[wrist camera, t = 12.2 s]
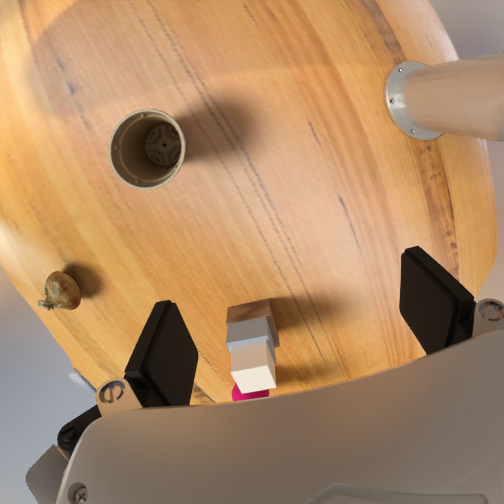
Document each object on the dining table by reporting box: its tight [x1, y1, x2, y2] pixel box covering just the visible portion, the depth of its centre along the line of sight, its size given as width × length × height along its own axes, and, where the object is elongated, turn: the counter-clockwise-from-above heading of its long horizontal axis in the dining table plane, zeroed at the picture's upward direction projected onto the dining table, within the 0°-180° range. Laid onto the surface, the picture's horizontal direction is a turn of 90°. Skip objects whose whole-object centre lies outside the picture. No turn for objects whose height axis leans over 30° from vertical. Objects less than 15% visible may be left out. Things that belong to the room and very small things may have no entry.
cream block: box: [230, 340, 276, 394], centre depth 38 cm, size 5×5×5 cm
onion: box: [38, 271, 81, 310], centre depth 42 cm, size 8×8×8 cm
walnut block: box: [226, 299, 280, 347], centre depth 46 cm, size 7×7×4 cm
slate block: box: [226, 316, 276, 364], centre depth 42 cm, size 6×6×4 cm
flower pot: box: [109, 109, 187, 190], centre depth 33 cm, size 9×9×9 cm
